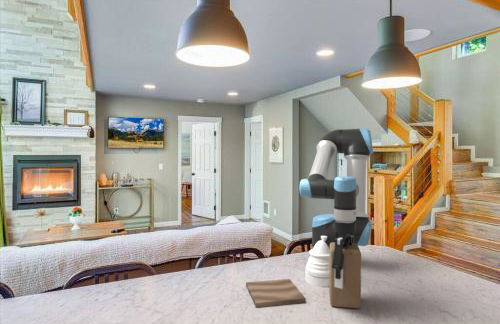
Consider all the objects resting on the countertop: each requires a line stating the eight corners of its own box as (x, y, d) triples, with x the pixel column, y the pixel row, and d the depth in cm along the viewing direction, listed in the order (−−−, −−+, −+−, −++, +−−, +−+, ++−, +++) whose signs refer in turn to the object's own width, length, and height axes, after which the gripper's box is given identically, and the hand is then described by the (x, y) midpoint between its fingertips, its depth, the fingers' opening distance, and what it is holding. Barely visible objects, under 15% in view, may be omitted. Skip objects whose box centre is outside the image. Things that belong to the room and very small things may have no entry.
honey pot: (316, 272, 143) (316, 232, 142) (343, 280, 134) (343, 237, 133) (299, 280, 134) (299, 237, 133) (326, 289, 125) (326, 243, 124)
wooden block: (360, 310, 108) (361, 251, 108) (330, 307, 110) (330, 249, 110) (357, 297, 118) (357, 242, 118) (329, 294, 120) (329, 241, 120)
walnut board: (246, 286, 128) (246, 282, 128) (289, 282, 131) (289, 278, 131) (255, 307, 110) (255, 303, 110) (305, 302, 114) (305, 298, 114)
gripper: (345, 228, 101) (344, 296, 102) (364, 216, 121) (364, 272, 122) (322, 225, 105) (321, 291, 106) (344, 214, 126) (344, 268, 126)
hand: (344, 281), depth 114 cm, fingers closed on wooden block, 12 cm apart
